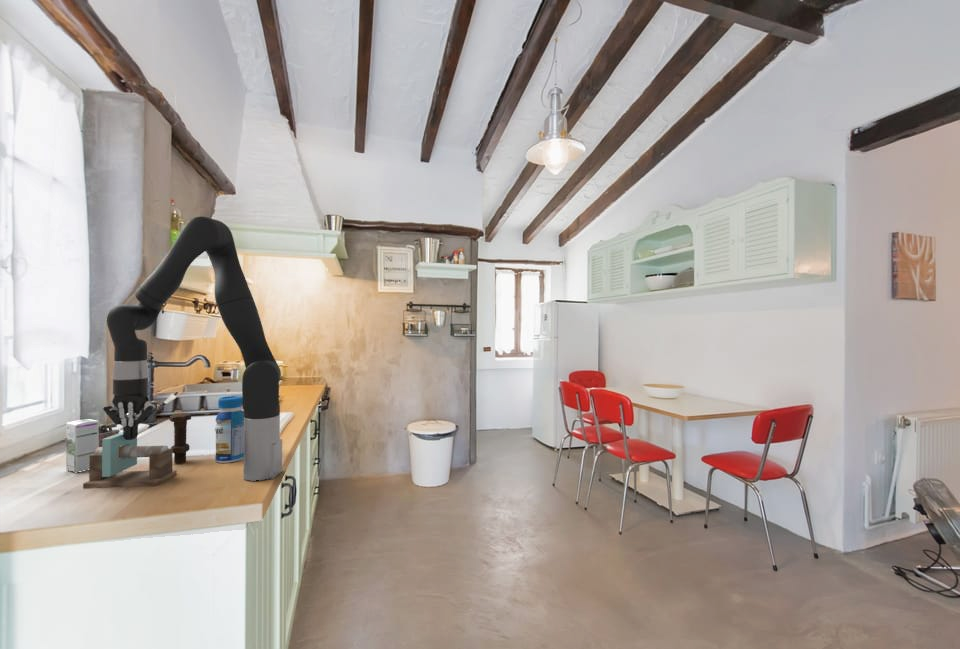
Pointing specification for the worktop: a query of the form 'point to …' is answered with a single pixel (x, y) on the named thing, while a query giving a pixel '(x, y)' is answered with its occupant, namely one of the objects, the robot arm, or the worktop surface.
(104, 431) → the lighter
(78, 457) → the syrup box
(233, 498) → the worktop surface
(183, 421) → the bolt
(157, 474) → the pipe stand
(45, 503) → the worktop surface
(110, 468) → the collar
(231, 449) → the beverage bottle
